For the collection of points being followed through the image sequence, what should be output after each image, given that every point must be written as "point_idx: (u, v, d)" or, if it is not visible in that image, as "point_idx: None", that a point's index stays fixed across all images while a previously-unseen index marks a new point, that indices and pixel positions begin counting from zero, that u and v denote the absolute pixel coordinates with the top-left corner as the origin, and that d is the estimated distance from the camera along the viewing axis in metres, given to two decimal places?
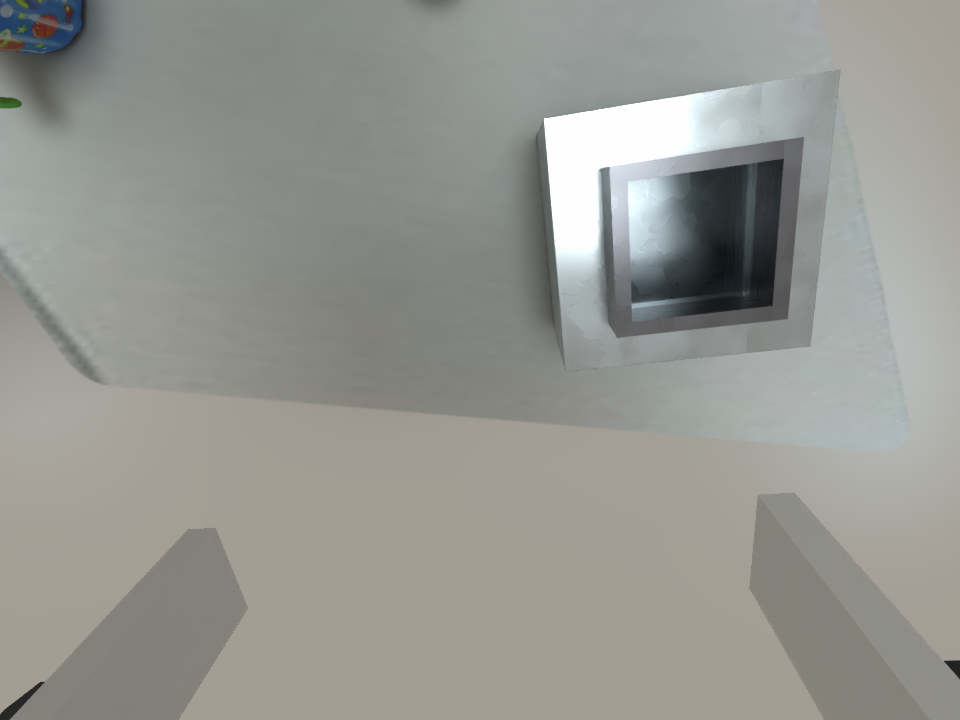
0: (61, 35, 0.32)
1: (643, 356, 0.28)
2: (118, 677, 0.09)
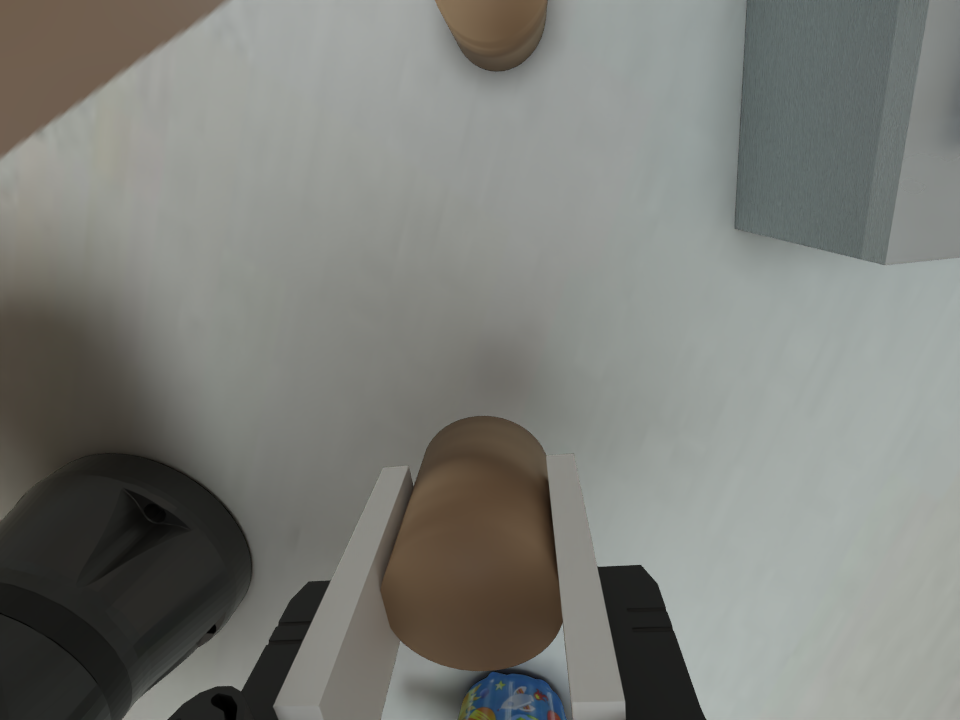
0: (556, 706, 0.33)
1: None
2: (380, 575, 0.10)
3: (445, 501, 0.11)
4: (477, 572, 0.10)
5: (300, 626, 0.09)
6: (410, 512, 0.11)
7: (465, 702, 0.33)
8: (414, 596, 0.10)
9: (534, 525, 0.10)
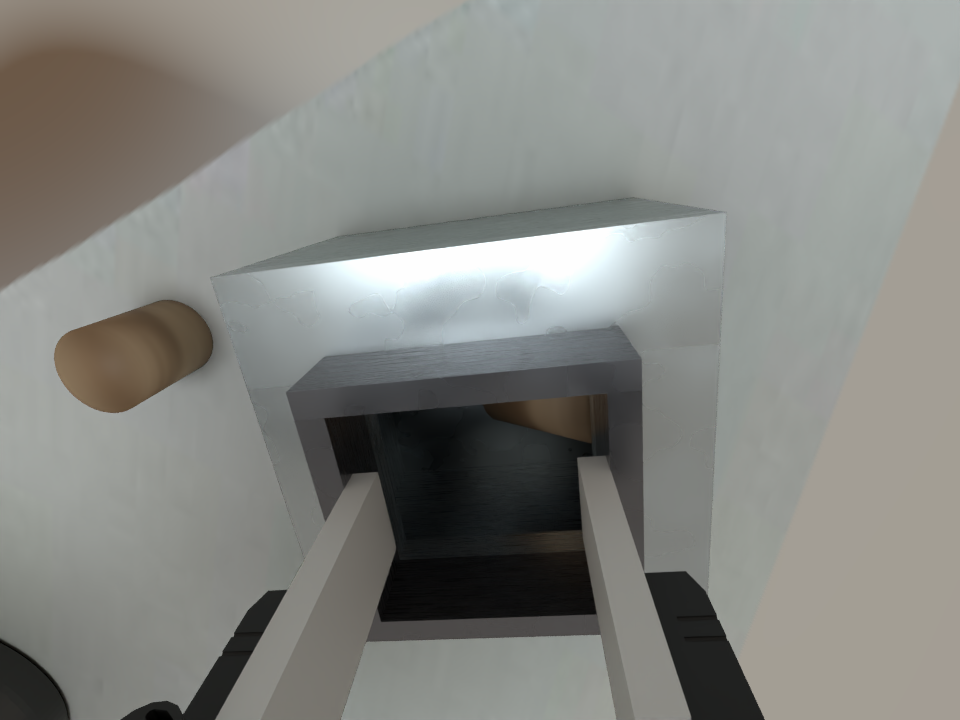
0: None
1: (696, 517, 0.15)
2: (340, 585, 0.10)
3: None
4: None
5: (255, 637, 0.09)
6: None
7: None
8: None
9: None
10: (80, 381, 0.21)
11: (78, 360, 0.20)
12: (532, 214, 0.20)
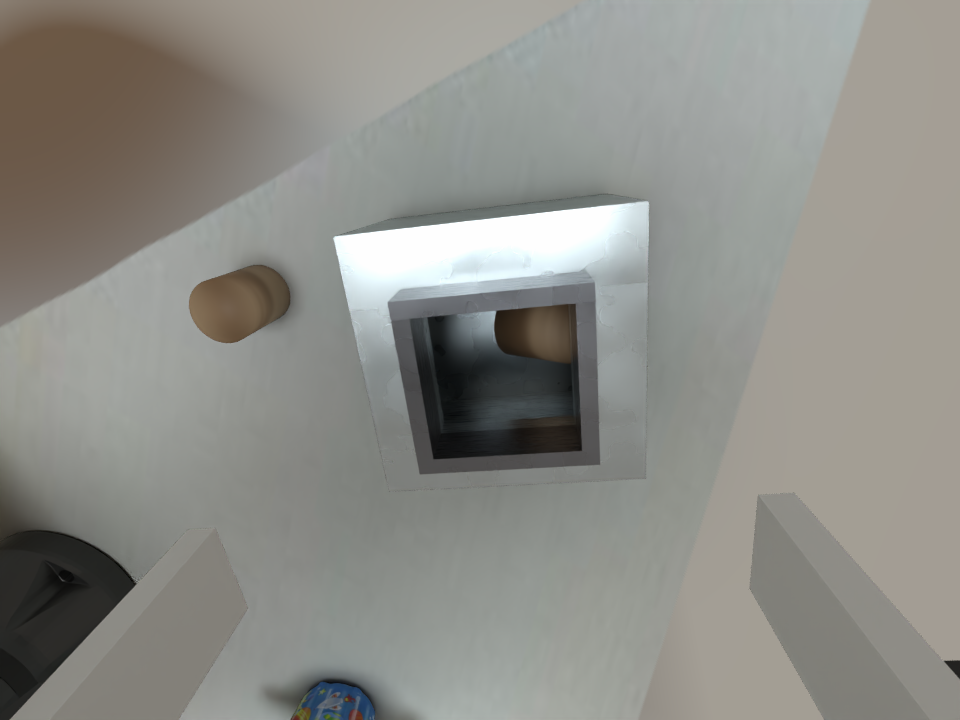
0: (362, 706, 0.46)
1: (637, 400, 0.23)
2: (118, 677, 0.09)
3: None
4: None
5: None
6: (548, 311, 0.26)
7: (299, 704, 0.47)
8: None
9: None
10: (206, 319, 0.29)
11: (206, 303, 0.29)
12: (534, 204, 0.28)
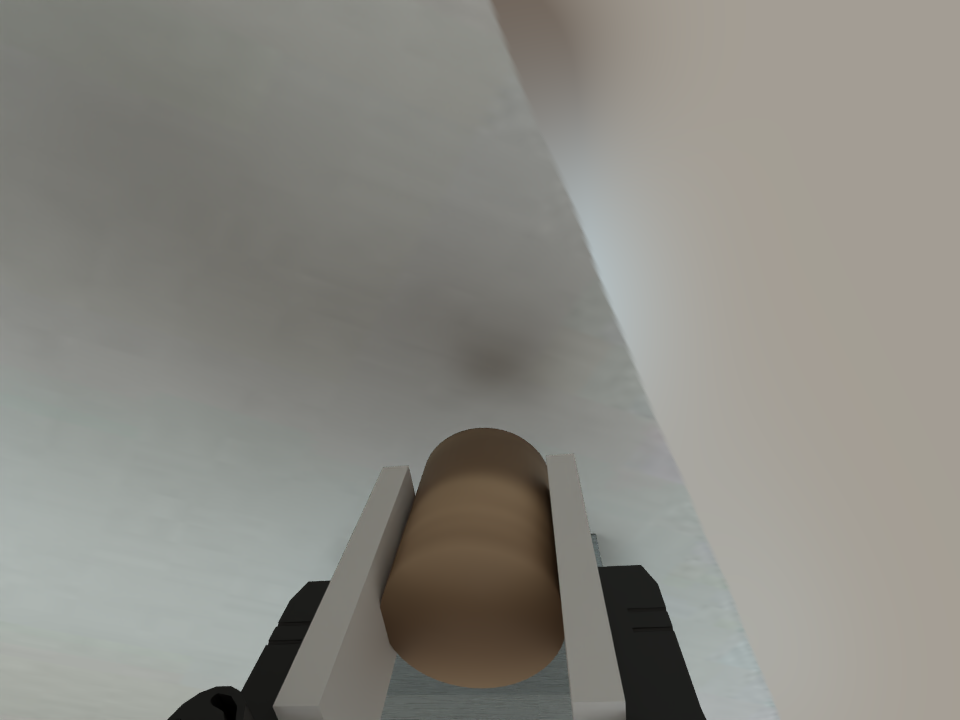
0: None
1: None
2: (380, 575, 0.10)
3: None
4: None
5: (300, 626, 0.09)
6: None
7: None
8: None
9: None
10: (447, 584, 0.10)
11: (496, 595, 0.10)
12: None
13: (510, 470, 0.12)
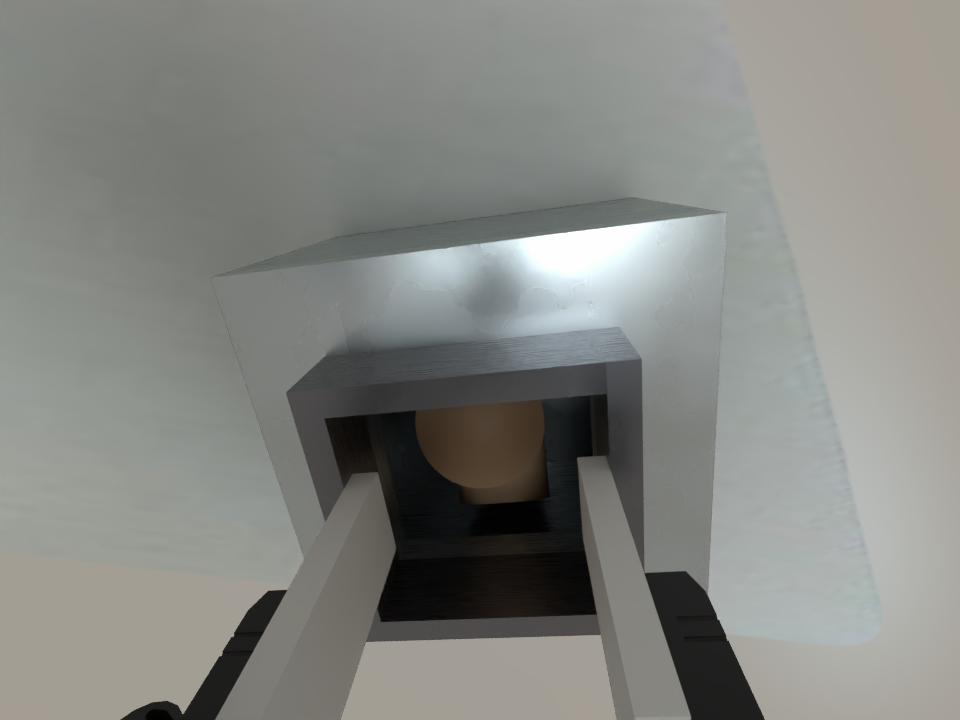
0: None
1: None
2: (340, 584, 0.10)
3: (546, 471, 0.20)
4: None
5: (255, 637, 0.09)
6: (532, 463, 0.20)
7: None
8: None
9: None
10: None
11: None
12: None
13: None
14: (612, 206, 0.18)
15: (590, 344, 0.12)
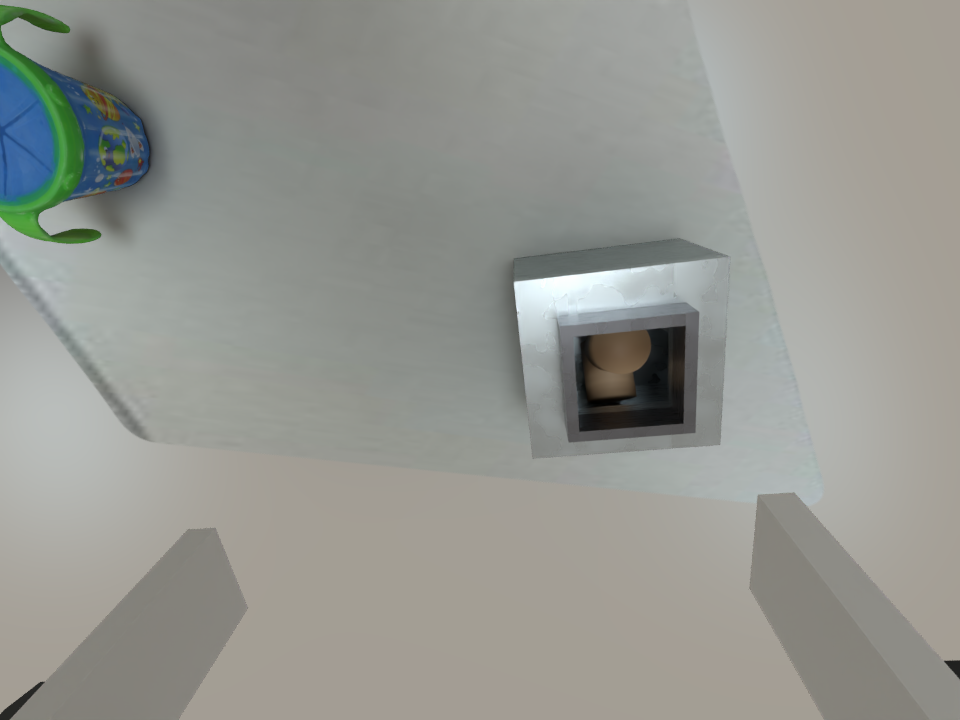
0: (133, 179, 0.39)
1: (592, 449, 0.36)
2: (118, 677, 0.09)
3: (634, 383, 0.39)
4: (622, 398, 0.39)
5: None
6: (629, 377, 0.38)
7: (105, 92, 0.37)
8: (618, 396, 0.38)
9: None
10: None
11: (629, 334, 0.33)
12: None
13: None
14: (673, 246, 0.37)
15: (676, 308, 0.30)
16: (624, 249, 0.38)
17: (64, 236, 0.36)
